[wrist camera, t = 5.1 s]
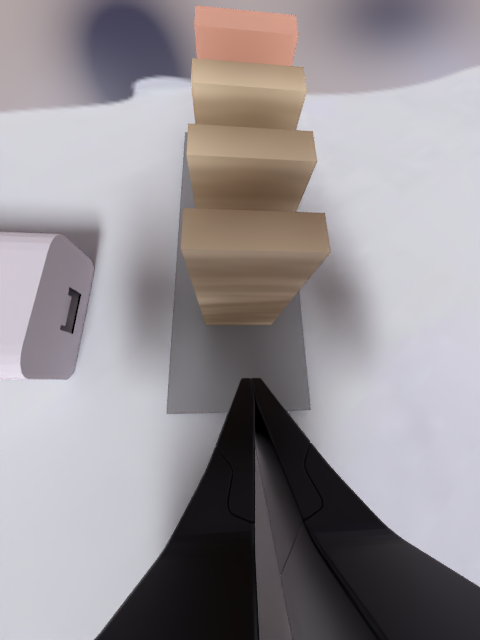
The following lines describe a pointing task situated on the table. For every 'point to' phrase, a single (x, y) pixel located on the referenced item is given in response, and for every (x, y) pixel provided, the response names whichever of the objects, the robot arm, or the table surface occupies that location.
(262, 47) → the domino
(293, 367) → the domino mat
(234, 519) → the robot arm
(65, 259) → the charger
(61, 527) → the table surface
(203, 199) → the domino
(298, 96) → the domino
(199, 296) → the domino
